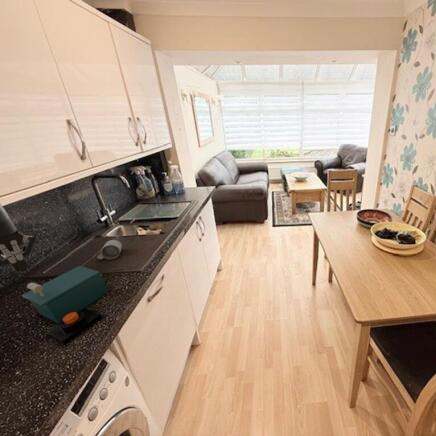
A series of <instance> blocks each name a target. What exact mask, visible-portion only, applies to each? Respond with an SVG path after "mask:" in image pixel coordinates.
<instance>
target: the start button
mask: <svg viewBox="0 0 436 436" xmlns="http://www.w3.org/2000/svg"><path fill="white" fill-rule="evenodd" d="M78 318H79V316H78V314H77V313H76V312H72V313H69V314H67V315H66V316H65V317H64V318H63V321H64V323H65V324H71V323H73V322H75V321H76V320H77V319H78Z"/></svg>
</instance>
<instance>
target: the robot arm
mask: <svg viewBox="0 0 436 436" xmlns="http://www.w3.org/2000/svg"><path fill="white" fill-rule="evenodd" d="M36 239H37V238H36V236H33V235H24V234H23V233H22V232H20V231H19V230H18V228H17V227H16V225H15V223H14V221H13V220H12V217H10V214H9V212H8V211H7V210H6V209H5V207H3V205H2V204H1V203H0V256H1V257H2V258H3V259H0V265H1V266H5V265H9V266H10V267H11V268H12V270H13V271H14V272H16V273H24V272H26V271H28V268H29V264H28V263H27V261H26V260H25V257H27V256H30V254H31V253H32V250H33V247H34V245H35V242H36ZM22 243H23V245H22ZM21 245H22V248H21ZM20 248H21V249H20Z"/></svg>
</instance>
